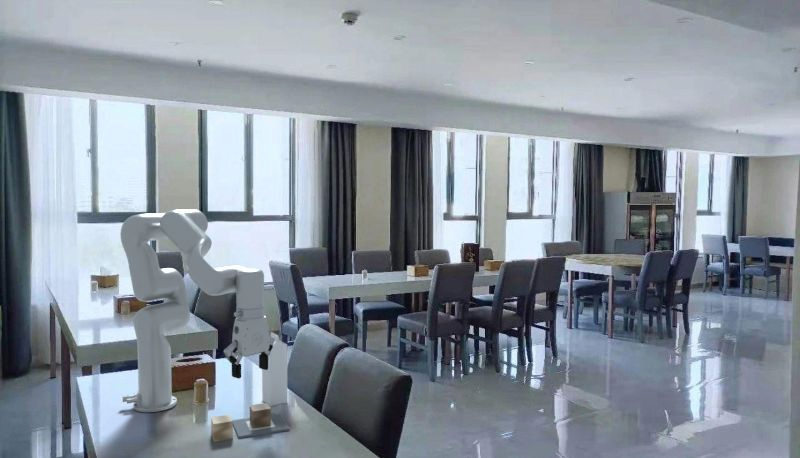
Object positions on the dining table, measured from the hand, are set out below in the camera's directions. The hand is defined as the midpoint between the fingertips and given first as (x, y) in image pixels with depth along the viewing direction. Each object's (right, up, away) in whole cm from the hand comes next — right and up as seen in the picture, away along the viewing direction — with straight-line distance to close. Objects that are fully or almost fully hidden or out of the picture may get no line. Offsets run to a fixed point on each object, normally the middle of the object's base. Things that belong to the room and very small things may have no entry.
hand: (250, 373), depth 165 cm
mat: (+2, -16, +3) cm, 16 cm away
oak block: (-7, -16, -4) cm, 18 cm away
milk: (+2, -15, +22) cm, 27 cm away
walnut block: (+2, -15, +3) cm, 16 cm away
